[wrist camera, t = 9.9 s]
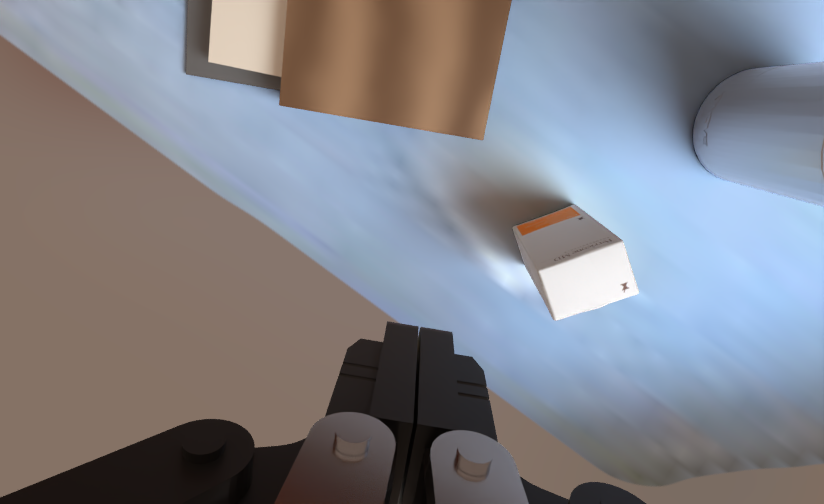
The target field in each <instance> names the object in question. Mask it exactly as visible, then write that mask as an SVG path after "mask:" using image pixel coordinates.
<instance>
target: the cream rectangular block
mask: <svg viewBox="0 0 824 504" xmlns="http://www.w3.org/2000/svg"><path fill="white" fill-rule="evenodd" d="M286 12H287V0H212V13H211V28H210V43H209V57H208V62H211V63H216V64H221V65H226V66H231V67H235V68H240V69H245V70H250V71H255V72H259V73H264V74H269V75H274V76H279V77H281V76H282V63H283V50H284V38H285V25H286Z"/></svg>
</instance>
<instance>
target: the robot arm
mask: <svg viewBox="0 0 824 504" xmlns="http://www.w3.org/2000/svg"><path fill="white" fill-rule="evenodd" d="M693 143H694V148H695V152H696V154H697V156H698V159H699V161H700V162H701V164H702V165H703V166H704V167H705V168H706V170H708V171H709V172H710V173H712V174H713V175H714V176H716V177H719V178H721V179H724V180H726V181H730V182H734V183H738V184H741V185H745V186H749V187H752V188H755V189H759V190H763V191H766V192H770V193H774V194H778V195H781V196H785V197H789V198H793V199H796V200H800V201H804V202H807V203H811V204H815V205H819V206H822V207H824V62H815V63H805V64H793V65H782V66H772V67H762V68H753V69H749V70H745V71H741V72H739V73H737V74H735V75H732V76H730V77H728V78H727V79H726V80H724V81H723V82H721V83H720V84H719V85H717V86H716V88H715V89H714V90H713V91H712V92H711V93H710V94H709V95H708V96H707V98H706V99H705V101H704V102H703V104H702V105H701V107H700V109H699V112H698V114H697V116H696V119H695V124H694V128H693ZM486 386H487V385H486V380H485V375H484V371H483V369H482V368H481V367H480V366H479V365H478V363H477V362H476V361H475V360H474V359H473V357H469V356H463V355H457V354H454V345H453V334H452V332H449V331H443V330H437V329H431V328H425V327H421V328H420V331H419V336H418V326H412V325H406V324H400V323H394V322H387V326H386V331H385V337H384V341H383V342H378V341H371V340H366V339H360V340H358V341H357V342H356V343H354V344H353V345H352V346H350V347H349V348H348V349H347V352H346V355H345V358H344V362H343V365H342V367H341V370H340V374H339V376H338V379H337V382H336V385H335V388H334V391H333V394H332V397H331V401H330V403H329V406H328V409H327V413H326V415H325V417H324V418H322V419H320V420H319V421H317V422H316V423H315V424H314V425H313V427H312V428H311V429H310V431H309V434H308V435H307V437H306V438H305V439H303V440H301V441H298V442H295V443H292V444H287V445H281V446H271V447H258V448H254V440H253V438H252V436H251V434H250V433H249V432H248V431H247V430H246V429H245V428H243V427H242V426H240V425H238V424H236V423H233V422H230V421H226V420H220V419H204V420H196V421H192V422H188V423H185V424H183V425H180V426H177V427H175V428H172V429H170V430H167V431H165V432H162V433H160V434H157V435H155V436H152V437H150V438H147V439H145V440H143V441H140V442H137V443H135V444H132V445H130V446H127V447H125V448H123V449H120V450H117V451H115V452H112V453H110V454H107V455H105V456H103V457H100V458H98V459H95V460H93V461H91V462H88V463H85V464H83V465H80V466H78V467H75V468H73V469H70V470H68V471H65V472H63V473H60V474H58V475H55V476H53V477H51V478H48V479H46V480H43V481H40V482H38V483H36V484H33V485H30V486H28V487H25V488H23V489H21V490H18V491H16V492H13V493H11V494H8V495H6V496H3V497H1V498H0V504H646V503H645V502H643V501H642V500H640V499H639V498H637V497H636V496H635V495H633V494H631V493H629V492H628V491H625V490H623V489H621V488H619V487H616V486H613V485H610V484H606V483H600V482H588V483H583V484H581V485H579V486H577V487H576V488H575V489H574V490H573V491H572V493H571V496H570V499H569V500H568V499H566V498H563V497H561V496H558V495H556V494H553V493H551V492H549V491H546V490H544V489H541V488H539V487H537V486H535V485H532V484H531V483H529V482H527V481H526V480H524V479H523V478H522V477H520V475H519V472H518V469H517V466H516V464H515V461H514V459H513V457H512V456H511V454H510V453H509V452H508V451H507V450H506V449H505V448H504V447H503V446H502V445H501V444H500V443H498V441H497V435H496V430H495V426H494V421H493V415H492V410H491V405H490V401H489V395H488V390H487V388H486Z"/></svg>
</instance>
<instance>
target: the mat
mask: <svg viewBox="0 0 824 504" xmlns="http://www.w3.org/2000/svg"><path fill="white" fill-rule="evenodd" d="M211 13H212V0H188V10H187V53H186V74H188V75H194V76H199V77H205V78H211V79H217V80H223V81H228V82H234V83H240V84H246V85H252V86H257V87H263V88H269V89H275V90H280V88H281V77H279V76H274V75H269V74H264V73H259V72H255V71H250V70H245V69H240V68H235V67H231V66H226V65H221V64H216V63H211V62H208V57H209V43H210V28H211Z"/></svg>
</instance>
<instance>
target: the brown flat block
mask: <svg viewBox="0 0 824 504" xmlns="http://www.w3.org/2000/svg"><path fill="white" fill-rule="evenodd" d="M511 1H512V0H287V12H286V25H285V38H284V50H283V63H282V76H281V88H280V101H279V105H280V106H286V107H292V108H298V109H304V110H309V111H315V112H321V113H327V114H333V115H338V116H344V117H350V118H356V119H362V120H368V121H373V122H379V123H385V124H391V125H397V126H403V127H408V128H414V129H420V130H426V131H432V132H437V133H443V134H449V135H455V136H461V137H467V138H472V139H478V140H483V138H484V133H485V128H486V123H487V118H488V113H489V109H490V104H491V99H492V94H493V89H494V84H495V79H496V74H497V69H498V64H499V60H500V55H501V50H502V45H503V40H504V35H505V30H506V25H507V20H508V15H509V11H510V6H511Z"/></svg>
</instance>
